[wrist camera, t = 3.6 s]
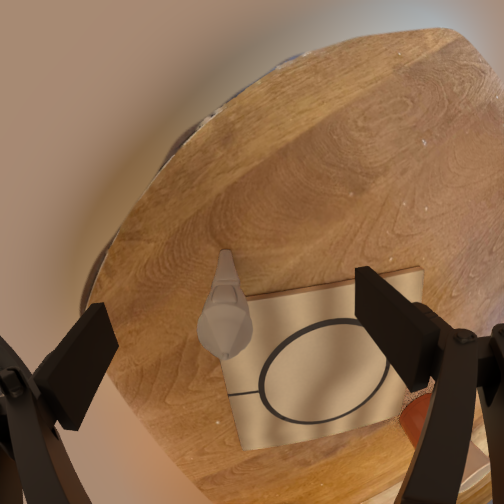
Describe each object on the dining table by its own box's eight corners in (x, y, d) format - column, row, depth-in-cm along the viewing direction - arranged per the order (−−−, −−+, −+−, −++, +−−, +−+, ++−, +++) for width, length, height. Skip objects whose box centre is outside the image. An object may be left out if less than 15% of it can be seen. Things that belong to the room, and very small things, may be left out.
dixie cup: (429, 464, 40) (450, 499, 30) (438, 441, 37) (463, 480, 28) (464, 445, 40) (486, 477, 30) (474, 421, 37) (501, 455, 28)
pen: (208, 268, 25) (194, 383, 12) (209, 236, 24) (191, 328, 11) (239, 269, 25) (255, 384, 12) (241, 237, 24) (260, 329, 11)
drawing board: (242, 445, 32) (242, 452, 31) (208, 301, 26) (207, 307, 25) (396, 410, 33) (400, 415, 32) (419, 266, 27) (425, 269, 26)
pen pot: (395, 431, 34) (417, 471, 27) (403, 402, 32) (431, 444, 25) (431, 417, 34) (456, 452, 27) (442, 387, 33) (472, 423, 25)
